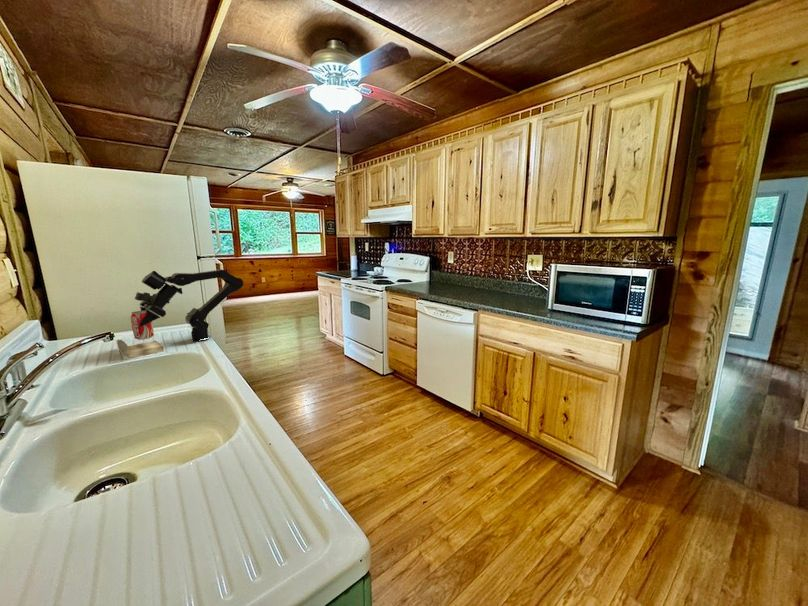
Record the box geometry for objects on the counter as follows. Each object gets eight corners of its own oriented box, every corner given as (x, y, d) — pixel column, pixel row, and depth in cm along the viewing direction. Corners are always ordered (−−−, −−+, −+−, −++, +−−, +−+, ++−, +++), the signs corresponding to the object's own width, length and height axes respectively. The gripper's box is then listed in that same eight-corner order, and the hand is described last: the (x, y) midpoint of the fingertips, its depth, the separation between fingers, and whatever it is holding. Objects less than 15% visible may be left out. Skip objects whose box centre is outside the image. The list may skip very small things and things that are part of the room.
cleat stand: (156, 345, 155) (154, 333, 153) (163, 351, 147) (161, 338, 146) (119, 353, 144) (116, 340, 143) (124, 359, 137) (122, 345, 136)
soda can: (153, 338, 144) (148, 312, 142) (132, 341, 141) (127, 314, 139) (155, 334, 151) (151, 309, 148) (136, 337, 147) (131, 311, 145)
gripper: (141, 283, 150) (114, 311, 144) (152, 287, 138) (123, 317, 132) (164, 297, 158) (140, 324, 152) (176, 302, 146) (150, 331, 140)
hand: (138, 324), depth 144 cm, fingers closed on soda can, 7 cm apart
